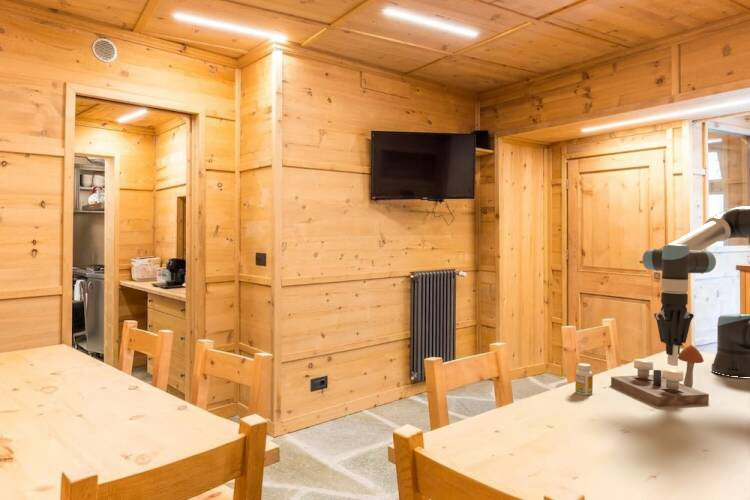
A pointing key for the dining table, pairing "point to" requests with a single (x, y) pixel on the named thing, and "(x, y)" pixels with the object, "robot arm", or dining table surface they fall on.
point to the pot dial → (657, 377)
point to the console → (659, 391)
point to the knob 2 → (672, 378)
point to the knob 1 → (643, 367)
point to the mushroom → (690, 362)
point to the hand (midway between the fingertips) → (672, 364)
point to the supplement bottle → (584, 379)
